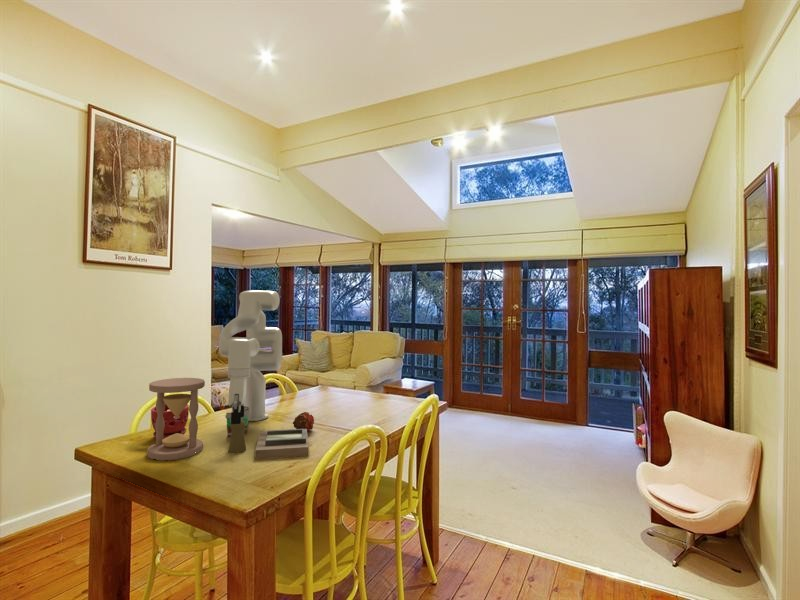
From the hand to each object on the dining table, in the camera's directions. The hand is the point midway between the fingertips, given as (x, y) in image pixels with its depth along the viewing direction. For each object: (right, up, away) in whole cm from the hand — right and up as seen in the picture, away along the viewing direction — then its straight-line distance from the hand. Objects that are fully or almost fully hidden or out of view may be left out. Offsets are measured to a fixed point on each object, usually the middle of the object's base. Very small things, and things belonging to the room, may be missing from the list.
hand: (237, 420), depth 150 cm
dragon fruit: (+18, -12, +26) cm, 34 cm away
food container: (-6, -12, +19) cm, 23 cm away
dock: (+15, -12, +5) cm, 19 cm away
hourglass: (-21, -11, -2) cm, 24 cm away
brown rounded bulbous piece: (0, -11, 0) cm, 11 cm away
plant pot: (-33, -11, +15) cm, 38 cm away
